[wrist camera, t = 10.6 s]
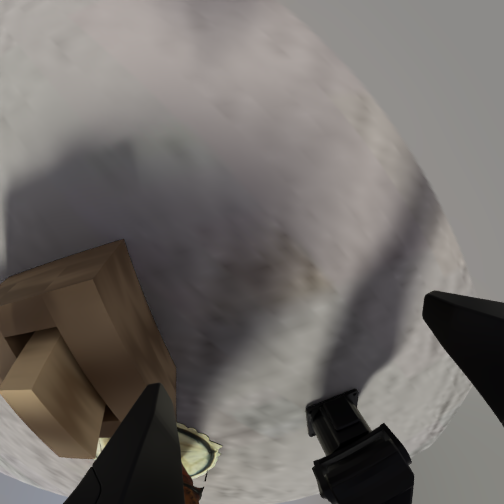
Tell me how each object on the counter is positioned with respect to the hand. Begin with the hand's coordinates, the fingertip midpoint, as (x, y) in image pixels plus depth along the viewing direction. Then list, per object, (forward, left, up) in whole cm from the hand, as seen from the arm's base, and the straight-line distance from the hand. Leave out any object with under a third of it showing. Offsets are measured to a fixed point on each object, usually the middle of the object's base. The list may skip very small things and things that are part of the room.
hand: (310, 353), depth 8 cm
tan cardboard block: (-4, +14, -10) cm, 18 cm away
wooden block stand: (-4, +25, -13) cm, 28 cm away
